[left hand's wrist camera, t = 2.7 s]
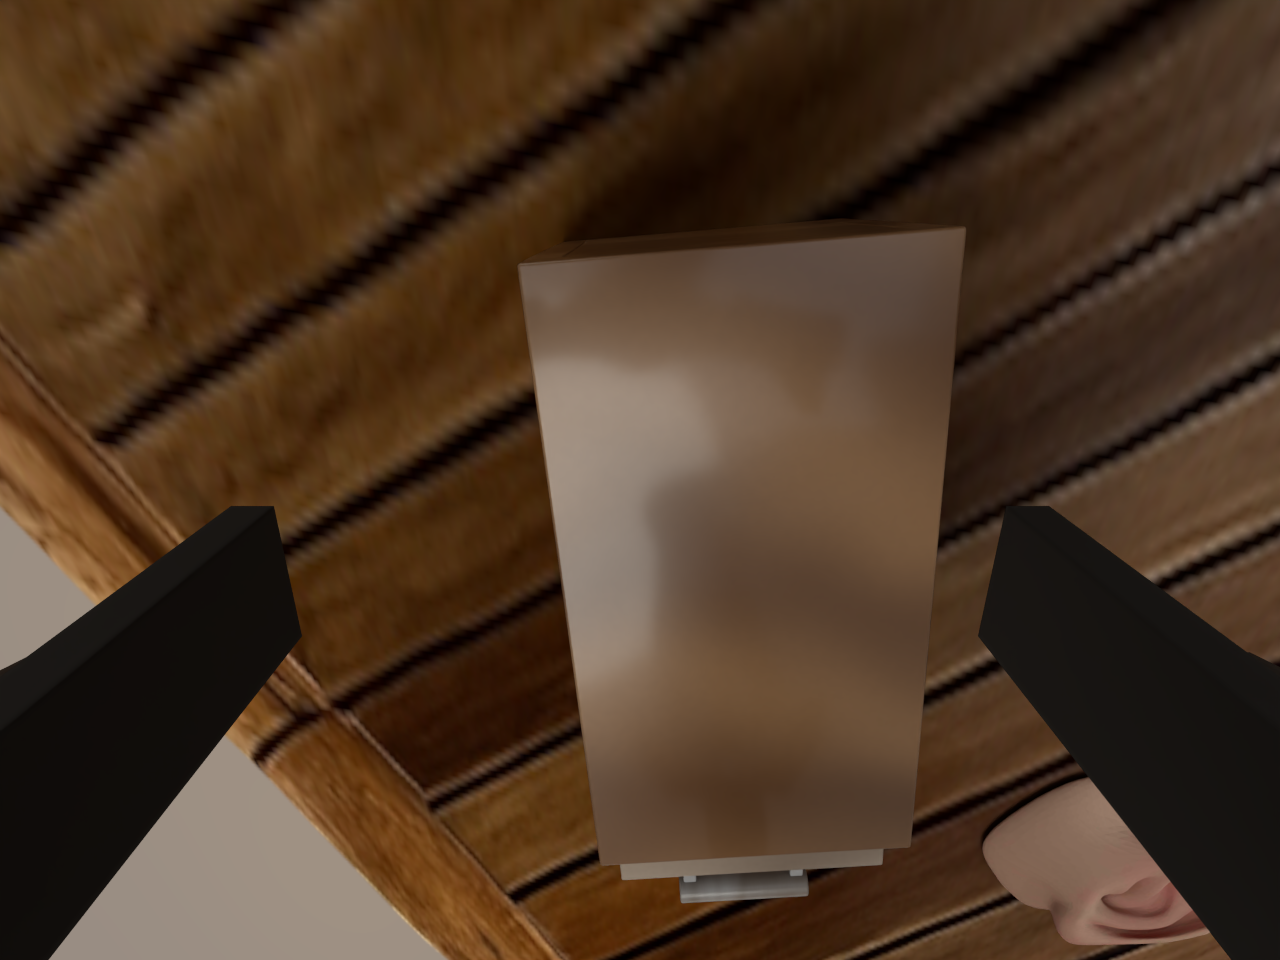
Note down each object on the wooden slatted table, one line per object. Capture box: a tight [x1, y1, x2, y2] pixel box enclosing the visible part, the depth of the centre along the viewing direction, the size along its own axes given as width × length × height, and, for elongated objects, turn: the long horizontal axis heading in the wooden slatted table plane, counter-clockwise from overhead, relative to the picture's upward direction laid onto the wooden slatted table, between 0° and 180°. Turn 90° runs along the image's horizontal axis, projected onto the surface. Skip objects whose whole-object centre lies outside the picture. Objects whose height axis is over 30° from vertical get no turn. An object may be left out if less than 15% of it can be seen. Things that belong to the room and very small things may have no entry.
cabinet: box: [517, 218, 966, 865], centre depth 27 cm, size 22×12×12 cm, turn 5°
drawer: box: [620, 849, 883, 903], centre depth 29 cm, size 26×10×10 cm, turn 5°
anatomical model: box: [983, 777, 1210, 945], centre depth 39 cm, size 13×4×12 cm
